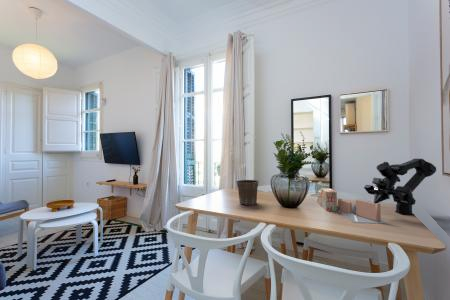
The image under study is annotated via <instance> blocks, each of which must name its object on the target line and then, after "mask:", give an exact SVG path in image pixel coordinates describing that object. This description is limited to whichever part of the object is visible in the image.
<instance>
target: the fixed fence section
mask: <svg viewBox="0 0 450 300" xmlns="http://www.w3.org/2000/svg"><path fill="white" fill-rule="evenodd" d="M352 205H353V203H352V202H351V201H347V200H343V199H342V198H337V209H338V210H341V211H344V212H347V213H352Z"/></svg>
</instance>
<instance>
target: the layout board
mask: <svg viewBox="0 0 450 300" xmlns="http://www.w3.org/2000/svg"><path fill="white" fill-rule="evenodd" d="M336 212H339V213H340V214H342V215H343V216H344V217H346V218H348V219H349V220H350V221H352V222H353V223H356V224H357V223H358V224H387V223H386V222H385V221H383V220H381V222H378V221H375V220H372V219H369V218H365V217H362V216H359V215H356V214H352V213H347V212H344V211H341V210H338V208H337V211H336Z"/></svg>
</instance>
